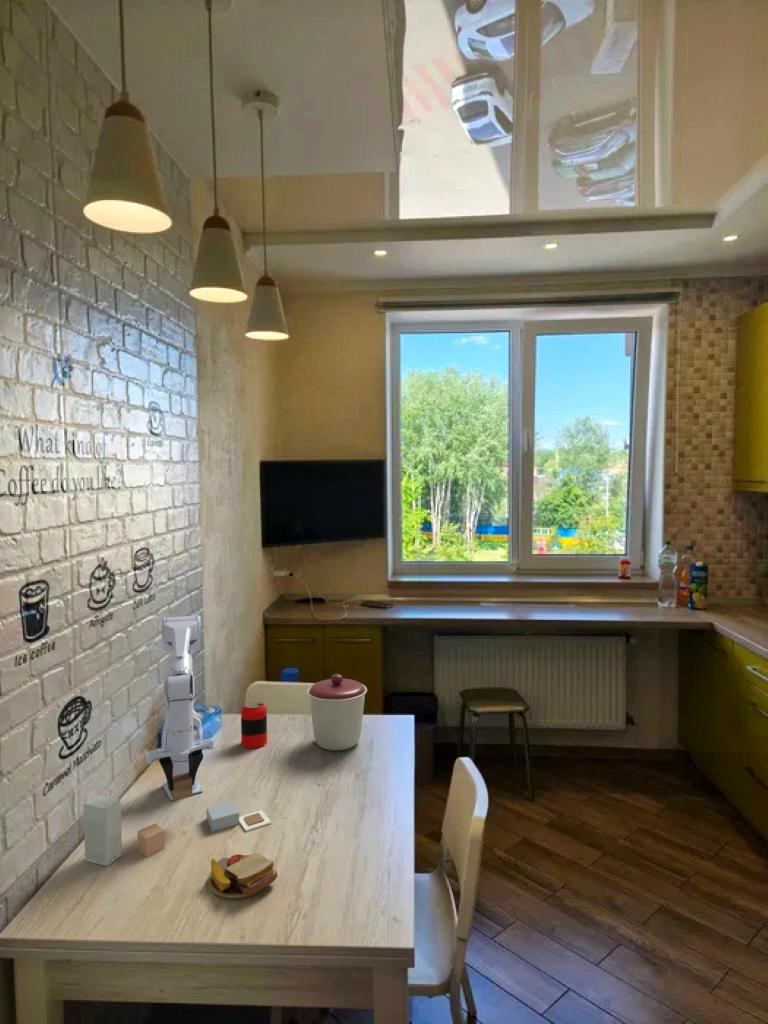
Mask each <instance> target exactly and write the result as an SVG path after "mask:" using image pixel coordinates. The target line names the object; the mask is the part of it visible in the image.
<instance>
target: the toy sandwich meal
mask: <svg viewBox="0 0 768 1024" xmlns="http://www.w3.org/2000/svg"><path fill="white" fill-rule="evenodd" d="M210 865H211V867H210V868H211V870H210V873H209V875H208V877H207V886H208V888H209V889H210V891H212V892H213V893H214V894H216V895H217V896H219V897H222V898H225V899H233V900H234V899H242V898H247V897H251V896H253V895H255V894H257V893H259V892H260V891H261V890H263V889H265V888H266V887H269V885H271V884H272V883H273V882H274V881H275V880H276V879H277V878H278V871H277V870H274V860H272V859H269V858H266V857H265V856H263V855H262V854H261V853H259V852H254V853H252V854H233V855H231V856H230V857H224V858H221V859H218V861H217V860H216V858H212V859H211V860H210Z"/></svg>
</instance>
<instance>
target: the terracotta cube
mask: <svg viewBox="0 0 768 1024" xmlns="http://www.w3.org/2000/svg"><path fill="white" fill-rule="evenodd" d="M136 835H137V850H138V851H139V852H141V854H142V855H143V856H144V857H146V858H147V857H150V856H152V855H154V854H156V853H158V852H160V851H162V850H164V849H166V848H165V843H166V840H165V838H166V837H165V829H163V828H162V827H161V826H160V825H158V823H156V822H155V823H154V824H151V825H147V826H146V827H144V828H141V829H138V831H137V834H136Z"/></svg>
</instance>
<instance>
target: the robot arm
mask: <svg viewBox="0 0 768 1024" xmlns="http://www.w3.org/2000/svg"><path fill="white" fill-rule="evenodd" d="M201 619H202V618H201V616H200V615H199V614H196V615H187V616H171V617H170V616H169V617H166V616H164V617H163V618H162V619H161V639H162V646H163V650H164V651H167V652H170V653H171V655H170V656H169V657H168V659H167V664H166V665H167V667H166V678H164V681H163V698H164V704H165V705H164V706H165V713H166V722H165V723H164V724H163V727H162V733H161V747H159V748H157V749H153V750H152V751H147V752H145V761H146V763H147V765H151V764H153V763H154V762H159V765H160V766H161V768H162V769H163V772H164V775H165V778H166V781H165V782H163V783H162V787H163V788H164V790H165V792H166V793H167V796H168V797H169V799H170V801H174V800H173V798H172V796H171V794H170V791H172V790H173V776H174V775H178V774H182V773H186V772H188V773H189V775H190V776H191V778H192V795H194V794H199V793H202V792H204V788H203V787H202V786H201V783H200V782H199V767H200V765H201V763H202V761H203V759H204V753H203V751H205V750H209V751H210V750H214V740H213V739H212V738H211V737H209V738H204V739H203V723H202V721H201V719H200V718H198V717H197V716H196V715H194V702H193V700H194V698H195V676H194V671H193V669H194V668H193V664H194V663H193V660H194V659H193V657H192V656H193V653H194V651H195V650H197V649H198V648H200V644H201V635H202V631H201V630H202V628H201V627H202V626H201Z"/></svg>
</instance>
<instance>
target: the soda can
mask: <svg viewBox="0 0 768 1024" xmlns="http://www.w3.org/2000/svg"><path fill="white" fill-rule="evenodd" d="M267 710H268V709H267V706H266V705H265V703H263V702H262V701H258V700H253V701H248V702H245V703H244V705H243V706H242V707H241V709H240V718H241V719H240V725H241V726H240V730H241V731H240V732H241V734H240V735H241V736H240V737H241V739H240V740H241V745H242V747H243V748H245V749H249V750H251V749H258V748H259V749H260V748H262V747H265V745H266V744H267V743H268V717H267V716H268V714H267Z"/></svg>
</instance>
